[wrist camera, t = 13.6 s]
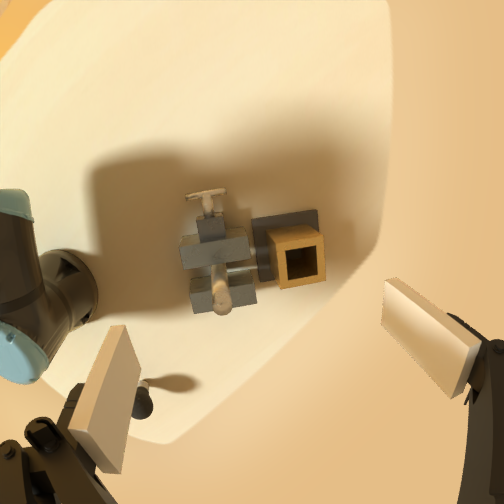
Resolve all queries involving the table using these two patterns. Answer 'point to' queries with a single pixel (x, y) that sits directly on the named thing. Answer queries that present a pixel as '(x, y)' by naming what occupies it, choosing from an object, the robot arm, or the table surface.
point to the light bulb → (142, 402)
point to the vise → (217, 260)
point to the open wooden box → (300, 268)
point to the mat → (271, 223)
